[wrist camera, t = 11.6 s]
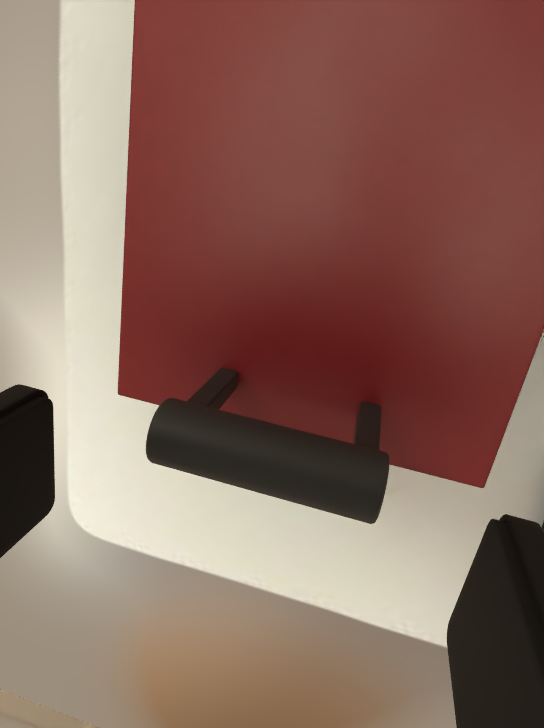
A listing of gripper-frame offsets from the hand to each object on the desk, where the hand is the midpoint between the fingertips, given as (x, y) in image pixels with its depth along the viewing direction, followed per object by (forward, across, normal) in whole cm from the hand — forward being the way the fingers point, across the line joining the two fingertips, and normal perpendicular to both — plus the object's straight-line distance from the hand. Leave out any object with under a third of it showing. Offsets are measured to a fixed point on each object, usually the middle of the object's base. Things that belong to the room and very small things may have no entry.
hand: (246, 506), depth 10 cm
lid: (+8, 0, -6) cm, 10 cm away
